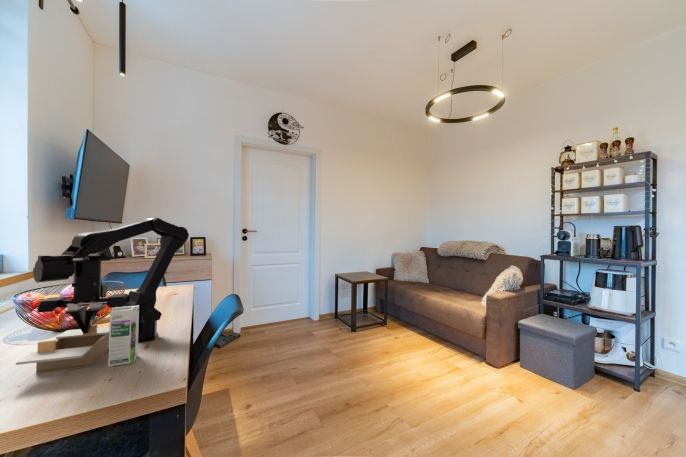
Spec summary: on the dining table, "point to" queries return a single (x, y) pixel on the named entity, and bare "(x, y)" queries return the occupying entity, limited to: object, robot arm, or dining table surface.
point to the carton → (88, 360)
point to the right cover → (85, 333)
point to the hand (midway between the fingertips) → (85, 333)
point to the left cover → (53, 353)
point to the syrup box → (123, 335)
